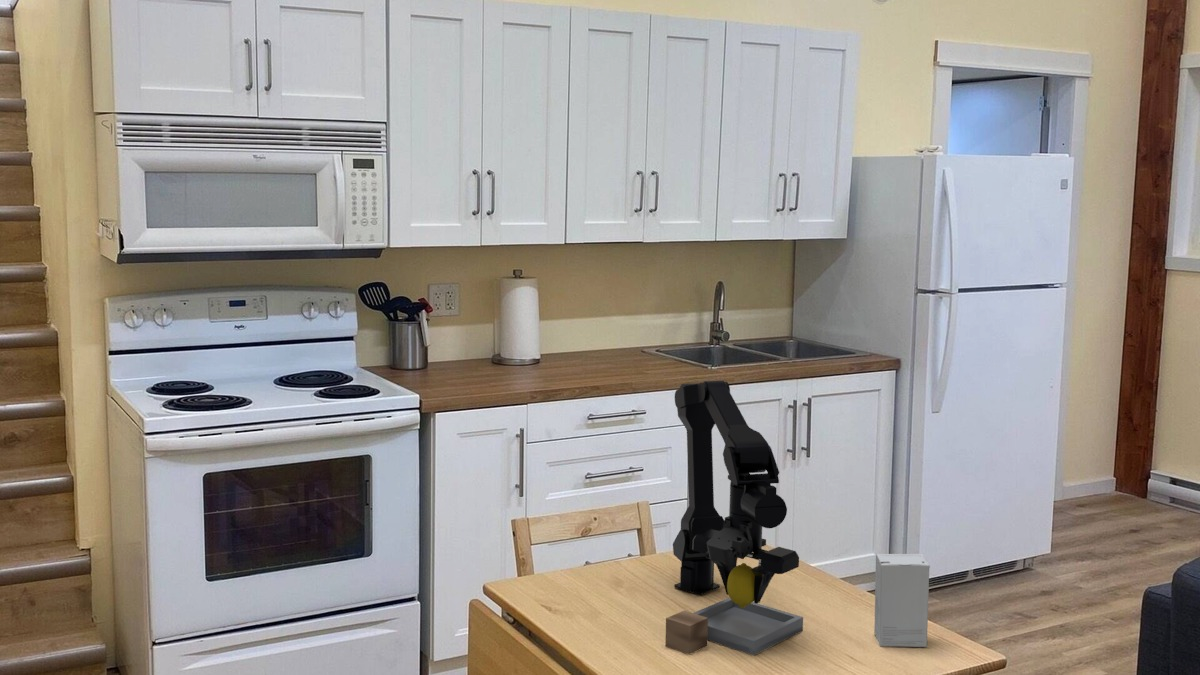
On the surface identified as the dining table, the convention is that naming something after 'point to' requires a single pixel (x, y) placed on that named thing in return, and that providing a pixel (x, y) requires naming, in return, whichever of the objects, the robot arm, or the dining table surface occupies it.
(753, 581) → the lemon
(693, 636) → the walnut block
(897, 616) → the skincare box
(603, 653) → the dining table surface
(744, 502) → the robot arm
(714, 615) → the dish
